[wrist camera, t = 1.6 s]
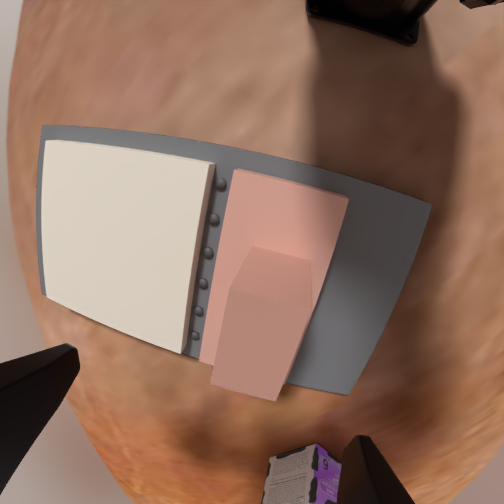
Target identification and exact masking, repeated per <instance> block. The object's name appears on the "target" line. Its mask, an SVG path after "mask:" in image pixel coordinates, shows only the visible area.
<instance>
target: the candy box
mask: <svg viewBox="0 0 504 504" xmlns="http://www.w3.org/2000/svg"><path fill="white" fill-rule="evenodd" d="M341 465H342V463H341V462H340V461H339V460H337V459H336V458H335V457H333V456H332V455H331V454H330V453H328V452H327V451H326V450H325V449H323V448H322V447H321V446H320V445H318V444H317V443H316V444H313V445H310V446H306V447H304V448H300V449H297V450H294V451H291V452H288V453H284V454H280V455H277V456H273V457H270V459H269V466H268V472H267V477H266V482H265V486H264V492H263V497H262V502H261V504H337V492H338V485H339V478H340V472H341Z"/></svg>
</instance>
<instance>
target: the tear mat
mask: <svg viewBox="0 0 504 504" xmlns="http://www.w3.org/2000/svg"><path fill="white" fill-rule="evenodd" d="M47 140H65V141H75V142H84V143H93V144H101V145H109V146H117V147H124V148H131V149H138V150H145V151H151V152H157V153H163V154H169V155H175V156H180V157H186V158H191V159H196V160H202V161H207V162H212V163H216V166H215V171H214V176H213V181H212V186H211V191H210V197H209V202H208V208H207V213H206V219H205V224H204V230H203V236H202V242H201V248H200V254H199V260H198V267H197V273H196V280H195V286H194V293H193V300H192V307H191V315H190V322H189V330H188V338H187V344H186V346H185V347H184V349H183V351H182V352H181V353H183V354H186V355H189V356H192V357H195V358H198V359H199V357H200V351H201V344H202V338H203V332H204V326H205V320H206V314H207V308H208V302H209V297H210V291H211V285H212V280H213V274H214V268H215V263H216V258H217V252H218V247H219V242H220V236H221V231H222V226H223V221H224V216H225V211H226V206H227V201H228V196H229V191H230V186H231V181H232V176H233V172H234V170H235V169H244V170H248V171H253V172H257V173H261V174H266V175H270V176H274V177H278V178H282V179H286V180H290V181H294V182H298V183H302V184H305V185H309V186H313V187H316V188H320V189H324V190H327V191H331V192H334V193H338V194H341V195H345V196H346V197H347V198H348V199H349V201H348V205H347V208H346V212H345V215H344V219H343V222H342V225H341V229H340V232H339V235H338V238H337V242H336V245H335V248H334V251H333V254H332V258H331V261H330V264H329V267H328V270H327V273H326V276H325V279H324V282H323V285H322V288H321V291H320V293H319V296H318V299H317V302H316V305H315V308H314V310H313V313H312V316H311V319H310V321H309V324H308V327H307V329H306V332H305V335H304V337H303V340H302V343H301V345H300V348H299V350H298V353H297V355H296V358H295V361H294V363H293V366H292V368H291V370H290V373H289V375H288V378H287V380H286V383H289V384H294V385H298V386H303V387H307V388H312V389H317V390H322V391H328V392H333V393H339V394H344V395H349V394H350V392H351V390H352V389H353V387H354V385H355V383H356V382H357V380H358V378H359V376H360V375H361V373H362V371H363V369H364V367H365V366H366V364H367V362H368V360H369V358H370V356H371V354H372V352H373V350H374V349H375V347H376V345H377V343H378V341H379V339H380V337H381V335H382V333H383V331H384V328H385V326H386V324H387V322H388V320H389V318H390V316H391V314H392V311H393V309H394V307H395V305H396V302H397V300H398V298H399V296H400V293H401V291H402V289H403V286H404V284H405V281H406V279H407V276H408V274H409V271H410V269H411V266H412V264H413V261H414V258H415V256H416V253H417V250H418V247H419V245H420V242H421V239H422V236H423V233H424V230H425V227H426V224H427V221H428V218H429V215H430V212H431V208H432V205H431V204H429V203H427V202H425V201H422V200H419V199H416V198H414V197H411V196H408V195H405V194H402V193H400V192H397V191H394V190H391V189H388V188H385V187H382V186H379V185H376V184H373V183H370V182H366V181H363V180H360V179H357V178H354V177H350V176H347V175H343V174H340V173H337V172H333V171H330V170H326V169H322V168H319V167H315V166H311V165H308V164H304V163H300V162H296V161H292V160H288V159H284V158H280V157H275V156H271V155H267V154H262V153H258V152H253V151H249V150H244V149H239V148H234V147H229V146H224V145H219V144H214V143H208V142H202V141H197V140H191V139H185V138H178V137H172V136H165V135H158V134H150V133H142V132H134V131H125V130H115V129H105V128H93V127H79V126H61V125H42V131H41V139H40V148H39V159H38V172H37V195H36V227H37V250H38V264H39V275H40V284H41V292H42V294H43V295H45V296H46V288H45V278H44V267H43V253H42V230H41V198H42V175H43V161H44V150H45V141H47ZM218 178H224V179H225V180H226V182H227V185H226V187H225V188H223V189H218V188H216V186H215V181H216V180H217V179H218ZM213 213H216V214H218V215H219V218H220V220H219V222H218V223H217V224H215V225H212V224H210V223H209V221H208V217H209V216H210V215H211V214H213ZM205 247H210V248H212V249H213V255H212V256H211V257H210V258H206V257H204V256H203V254H202V251H203V249H204V248H205ZM200 278H205V279H206V280H207V281H208V285H207V287H206V288H200V287H199V286H198V284H197V282H198V280H199V279H200ZM196 306H200V307H202V308H203V313H202V315H200V316H197V315H195V314H194V312H193V310H194V308H195V307H196ZM192 331H196V332H198V333H199V338H198V339H197V340H193V339H191V337H190V334H191V332H192Z"/></svg>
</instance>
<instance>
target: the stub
mask: <svg viewBox="0 0 504 504" xmlns="http://www.w3.org/2000/svg"><path fill="white" fill-rule="evenodd" d="M348 201H349V199H348V198H347V197H346V196H345V195H341V194H338V193H334V192H331V191H327V190H324V189H320V188H316V187H313V186H309V185H305V184H302V183H298V182H294V181H290V180H286V179H282V178H278V177H274V176H270V175H266V174H261V173H257V172H253V171H248V170H244V169H235V170H234V172H233V176H232V181H231V186H230V191H229V196H228V201H227V206H226V211H225V216H224V221H223V226H222V231H221V236H220V242H219V247H218V252H217V258H216V263H215V268H214V274H213V280H212V285H211V291H210V297H209V302H208V308H207V314H206V320H205V326H204V332H203V338H202V344H201V351H200V357H199V361H200V362H203V363H207V364H210V365H213V371H212V377H211V382H210V384H212V385H216V386H219V387H222V388H226V389H229V390H233V391H236V392H240V393H244V394H247V395H251V396H255V397H259V398H263V399H267V400H271V401H276V399H277V397H278V395H279V392H280V390H281V387H282V385H283V384H284V385H285V383H286V380H287V378H288V375H289V373H290V370H291V368H292V366H293V363H294V361H295V358H296V355H297V353H298V350H299V348H300V345H301V343H302V340H303V337H304V335H305V332H306V329H307V327H308V324H309V321H310V319H311V316H312V313H313V310H314V308H315V305H316V302H317V299H318V296H319V293H320V291H321V288H322V285H323V282H324V279H325V276H326V273H327V270H328V267H329V264H330V261H331V258H332V254H333V251H334V248H335V245H336V242H337V238H338V235H339V232H340V229H341V225H342V222H343V219H344V215H345V212H346V208H347V205H348Z"/></svg>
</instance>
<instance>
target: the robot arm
mask: <svg viewBox="0 0 504 504" xmlns="http://www.w3.org/2000/svg"><path fill="white" fill-rule="evenodd" d="M436 1H437V0H307V5H306V12H307V14H308V15H309V16H310V17H313V18H317V19H322V20H326V21H331V22H335V23H339V24H342V25H346V26H350V27H353V28H357V29H360V30H363V31H367V32H370V33H373V34H376V35H379V36H382V37H385V38H388V39H390V40H393V41H396V42H399V43H401V44H404V45H406V46H413V45H414V44H415V43H416V42H417V39H418V29H419V20H420V19H421V18H422V17H423V15H424V14H425V13H426V12H427V11H428V10H429V9H430V8H431V7H432V6H433V5H434V4H435V3H436ZM501 2H504V0H460V3H462V4H463V5H465V6H466V7H468V8H469V9H473V8H477V7H481V6H486V5H496V4H497V3H501ZM312 8H317V9H318V10H319V11H317V12H314V11H312V10H311V9H312ZM405 35H408V36H409V37H410V38H411V41H410V40H408V39H407V38H406V36H405ZM79 370H80V361H79V355H78V350H77V348H76V347H74V346H72V345H70V344H68V343H65V344H62V345H58V346H55V347H52V348H49V349H46V350H43V351H39V352H36V353H33V354H30V355H26V356H24V357H20V358H17V359H13V360H10V361H7V362H3V363H0V495H1V493H2V491H3V489H4V488H5V486H6V484H7V483H8V481H9V480H10V478H11V476H12V475H13V473H14V472H15V470H16V469H17V467H18V466H19V464H20V462H21V461H22V459H23V458H24V456H25V455H26V453H27V452H28V450H29V449H30V447H31V446H32V444H33V443H34V441H35V440H36V438H37V437H38V436H39V434H40V433H41V431H42V430H43V428H44V427H45V425H46V424H47V423H48V421H49V420H50V418H51V417H52V416H53V414H54V413H55V411H56V410H57V409H58V407H59V406H60V404H61V402H62V401H63V399H64V397H65V395H66V394H67V392H68V390H69V388H70V387H71V385H72V383H73V381H74V380H75V378H76V376H77V374H78V373H79ZM337 504H415V503H414V501H413V500H412V498H411V497H410V495H409V494H408V492H407V491H406V489H405V488H404V486H403V485H402V484H401V482H400V481H399V479H398V478H397V476H396V475H395V473H394V472H393V470H392V469H391V467H390V466H389V464H388V463H387V461H386V460H385V458H384V457H383V455H382V454H381V453H380V451H379V450H378V448H377V447H376V445H375V444H374V442H373V441H372V439H371V438H370V437H369V436H366V435H356V436H355V437H354V438H353V439H352V441H351V442H350V443H349V444H348V446H347V447H346V448H345V450H344V452H343V457H342V465H341V472H340V478H339V485H338V492H337Z"/></svg>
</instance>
